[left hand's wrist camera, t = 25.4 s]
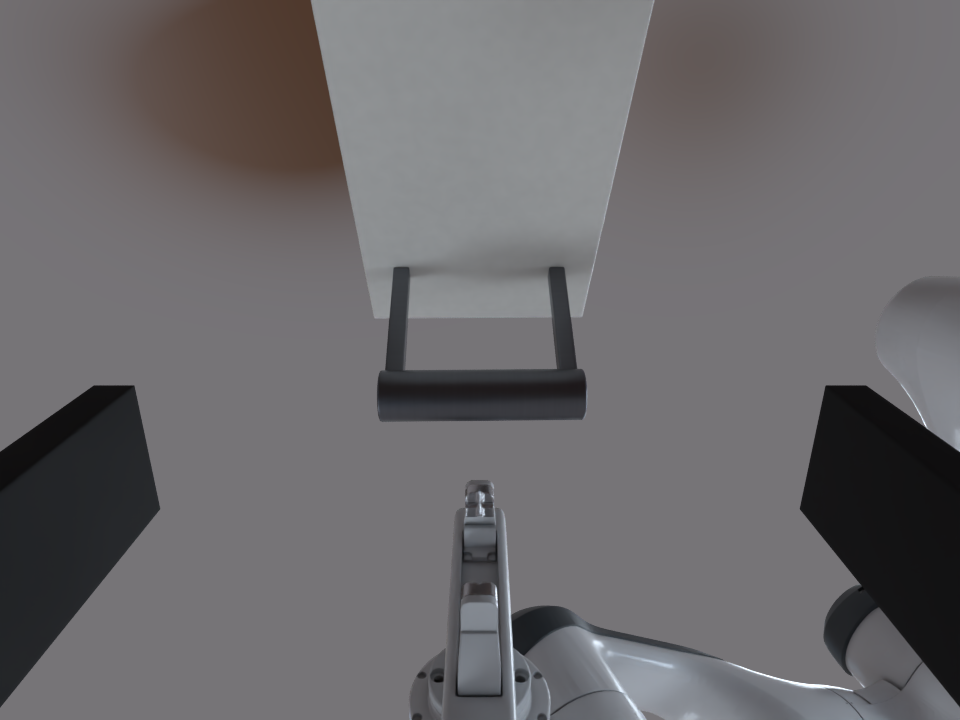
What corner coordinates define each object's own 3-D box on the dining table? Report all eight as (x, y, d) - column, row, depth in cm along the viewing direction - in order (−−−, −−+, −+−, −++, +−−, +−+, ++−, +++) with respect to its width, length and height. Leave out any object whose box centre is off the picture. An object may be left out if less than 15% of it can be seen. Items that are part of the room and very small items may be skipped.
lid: (580, 304, 32) (601, 454, 27) (375, 305, 32) (360, 457, 27) (667, -92, 18) (741, 79, 13) (298, -94, 18) (240, 79, 13)
